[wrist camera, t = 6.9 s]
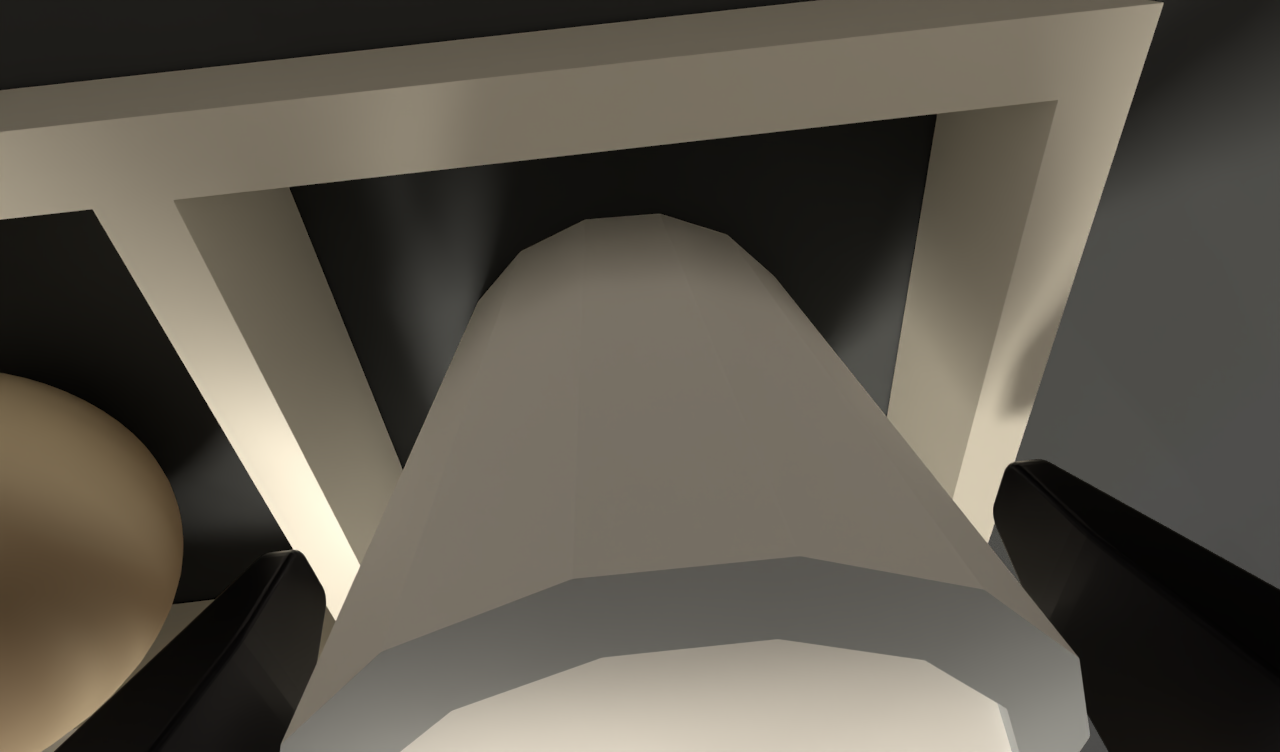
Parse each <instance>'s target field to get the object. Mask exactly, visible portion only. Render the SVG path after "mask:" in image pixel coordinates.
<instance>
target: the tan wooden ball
mask: <svg viewBox="0 0 1280 752" xmlns="http://www.w3.org/2000/svg"><path fill="white" fill-rule="evenodd" d="M182 560H183V531H182V521H181V516H180V511H179V507H178V504H177V501H176V498H175V495H174V492H173V490H172V487H171V485H170V482H169V480H168V479H167V477H166V475H165V474H164V472H163V470H162V469H161V467H160V465H159V464H158V462H157V461H156V459H155V458H154V456H153V455H152V454H151V453H150V451H149V450H148V449H147V447H146V446H145V445H144V444H143V443H142V442H141V441H140V440H139V439H138V438H137V437H136V436H135V435H134V434H133V433H132V432H131V431H129V430H128V429H127V428H126V427H125V426H123V425H122V424H121V423H120V422H118V421H117V420H116V419H114V418H113V417H111V416H110V415H108V414H107V413H105V412H104V411H102V410H101V409H99V408H97V407H95V406H94V405H92V404H90V403H88V402H87V401H85V400H83V399H80V398H78V397H76V396H74V395H72V394H70V393H68V392H65V391H63V390H60V389H58V388H55V387H52V386H50V385H47V384H44V383H41V382H37V381H34V380H31V379H27V378H24V377H19V376H14V375H10V374H5V373H0V752H41V751H43V750H44V749H46V748H48V747H49V746H51V745H52V744H54V743H55V742H56V741H58V740H59V739H60V738H62V737H63V736H64V735H66V734H67V733H68V732H70V731H71V730H72V729H74V728H75V727H76V726H78V725H79V724H80V723H82V722H83V721H84V720H86V719H87V718H88V717H90V716H91V715H92V714H93V713H94V712H95V711H96V710H97V709H98V708H99V707H100V706H101V705H103V704H104V703H105V702H106V701H107V700H108V699H109V698H110V697H111V696H112V695H113V694H114V693H115V692H116V691H117V689H118V688H119V687H120V686H121V685H122V684H123V683H124V681H125V680H126V679H127V678H128V677H129V676H130V674H131V673H132V672H133V671H134V670H135V669H136V667H137V666H138V665H139V664H140V663H141V661H142V660H143V658H144V657H145V655H146V654H147V652H148V650H149V649H150V647H151V646H152V644H153V643H154V641H155V640H156V638H157V636H158V634H159V632H160V630H161V628H162V626H163V624H164V622H165V620H166V618H167V616H168V614H169V612H170V609H171V607H172V604H173V600H174V597H175V594H176V590H177V587H178V583H179V579H180V575H181V569H182Z"/></svg>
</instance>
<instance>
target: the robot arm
mask: <svg viewBox="0 0 1280 752" xmlns="http://www.w3.org/2000/svg"><path fill="white" fill-rule="evenodd" d="M993 518H994V522H995V525H996V528H997V530H998V532H999V535H1000V537H1001V539H1002V542H1003V544H1004V546H1005V549H1006V551H1007V553H1008V556H1009V558H1010V560H1011V563H1012V565H1013V567H1014V570H1015V572H1016V574H1017V576H1018V579H1019V581H1020V583H1021V586H1022V587H1023V589H1024V590H1025V591H1026V592H1027V594H1028V595H1029V596H1030V597H1031V599H1032V600H1033V601H1034V602H1035V604H1036V605H1037V606H1038V607H1039V609H1040V610H1041V611H1042V612H1043V614H1044V615H1045V616H1046V617H1047V619H1048V620H1049V621H1050V622H1051V624H1052V625H1053V626H1054V627H1055V629H1056V630H1057V631H1058V632H1059V634H1060V635H1061V636H1062V637H1063V639H1064V640H1065V641H1066V642H1067V644H1068V645H1069V646H1070V647H1071V649H1072V650H1073V651H1074V652H1075V654H1076V655H1077V656H1078V657H1079V660H1080V667H1081V674H1082V682H1083V689H1084V696H1085V703H1086V711H1087V714H1088V716H1089V718H1090V720H1091V721H1092V723H1093V725H1094V727H1095V729H1096V730H1097V732H1098V734H1099V736H1100V737H1101V739H1102V741H1103V743H1104V745H1105V746H1106V748H1107V750H1108V752H1280V589H1278V588H1276V587H1274V586H1272V585H1271V584H1269V583H1267V582H1265V581H1263V580H1262V579H1260V578H1258V577H1256V576H1254V575H1253V574H1251V573H1249V572H1247V571H1245V570H1244V569H1242V568H1240V567H1238V566H1236V565H1234V564H1233V563H1231V562H1229V561H1227V560H1225V559H1224V558H1222V557H1220V556H1218V555H1216V554H1215V553H1213V552H1211V551H1209V550H1207V549H1206V548H1204V547H1202V546H1200V545H1198V544H1197V543H1195V542H1193V541H1191V540H1189V539H1188V538H1186V537H1184V536H1182V535H1180V534H1178V533H1177V532H1175V531H1173V530H1171V529H1169V528H1168V527H1166V526H1164V525H1162V524H1160V523H1159V522H1157V521H1155V520H1153V519H1151V518H1150V517H1148V516H1146V515H1144V514H1142V513H1141V512H1139V511H1137V510H1135V509H1133V508H1132V507H1130V506H1128V505H1126V504H1124V503H1122V502H1121V501H1119V500H1117V499H1115V498H1113V497H1112V496H1110V495H1108V494H1106V493H1104V492H1103V491H1101V490H1099V489H1097V488H1095V487H1094V486H1092V485H1090V484H1088V483H1086V482H1085V481H1083V480H1081V479H1079V478H1077V477H1076V476H1074V475H1072V474H1070V473H1068V472H1066V471H1065V470H1063V469H1061V468H1059V467H1057V466H1056V465H1054V464H1052V463H1050V462H1048V461H1046V460H1042V459H1034V460H1026V461H1017V462H1012V463H1010V464H1009V465H1008V466H1007V467H1006V468H1005V470H1004V473H1003V477H1002V480H1001V483H1000V486H999V489H998V492H997V495H996V499H995V502H994V505H993ZM325 610H326V595H325V591H324V589H323V586H322V585H321V583H320V581H319V579H318V578H317V576H316V574H315V572H314V571H313V569H312V567H311V566H310V564H309V562H308V560H307V559H306V557H305V555H304V554H303V553H302V552H300V551H298V550H286V551H277V552H270V553H266V554H264V555H262V556H261V557H260V558H258V559H257V560H256V561H255V562H254V563H253V564H252V565H251V566H250V567H249V568H248V569H247V570H245V571H244V572H243V573H242V574H241V575H240V576H239V577H238V578H237V579H236V580H235V581H234V582H233V583H232V584H231V585H230V586H229V587H227V588H226V589H225V590H224V591H223V592H222V593H221V594H220V595H219V596H218V597H217V598H216V599H215V600H214V601H213V602H212V603H211V604H209V605H208V606H207V607H206V608H205V609H204V610H203V611H202V612H201V613H200V614H199V615H198V616H197V617H196V618H195V619H194V620H193V621H191V622H190V623H189V624H188V625H187V626H186V627H185V628H184V629H183V630H182V631H181V632H180V633H179V634H178V635H177V636H176V637H175V638H173V639H172V640H171V641H170V642H169V643H168V644H167V645H166V646H165V647H164V648H163V649H162V650H161V651H160V652H159V653H158V654H156V655H155V656H154V657H153V658H152V659H151V660H150V661H149V662H148V663H147V664H146V665H145V666H144V667H143V668H142V669H141V670H140V671H138V672H137V673H136V674H135V675H134V676H133V677H132V678H131V679H130V680H129V681H128V682H127V683H126V684H125V685H124V686H123V687H122V688H120V689H119V690H118V691H117V692H116V693H115V694H114V695H113V696H112V697H111V698H110V699H109V700H108V701H107V702H106V703H105V704H104V705H102V706H101V707H100V708H99V709H98V710H97V711H96V712H95V713H94V714H93V715H92V716H91V717H90V718H89V719H88V720H87V721H86V722H84V723H83V724H82V725H81V726H80V727H79V728H78V729H77V730H76V731H75V732H74V733H73V734H72V735H71V736H70V737H69V738H68V739H66V740H65V741H64V742H63V743H62V744H61V745H60V746H59V747H58V748H57V749H56V750H55V751H54V752H280V747H281V743H282V740H283V738H284V736H285V734H286V731H287V729H288V727H289V725H290V722H291V720H292V718H293V716H294V713H295V711H296V709H297V707H298V705H299V702H300V700H301V698H302V696H303V693H304V691H305V689H306V687H307V684H308V682H309V680H310V678H311V675H312V673H313V671H314V669H315V666H316V664H317V661H318V655H319V649H320V642H321V636H322V629H323V623H324V617H325Z"/></svg>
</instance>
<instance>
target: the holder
mask: <svg viewBox="0 0 1280 752" xmlns="http://www.w3.org/2000/svg"><path fill="white" fill-rule="evenodd" d="M1163 4H1164V3H1163V2H1157V1H1151V0H816V1H807V2H798V3H789V4H780V5H771V6H762V7H752V8H743V9H734V10H725V11H716V12H707V13H698V14H689V15H680V16H671V17H662V18H653V19H643V20H634V21H625V22H616V23H607V24H598V25H589V26H580V27H571V28H562V29H553V30H544V31H534V32H525V33H516V34H507V35H498V36H489V37H480V38H471V39H462V40H453V41H444V42H435V43H425V44H416V45H407V46H398V47H389V48H380V49H371V50H362V51H353V52H344V53H335V54H326V55H316V56H307V57H298V58H289V59H280V60H271V61H262V62H253V63H244V64H235V65H226V66H216V67H207V68H198V69H189V70H180V71H171V72H162V73H153V74H144V75H135V76H126V77H117V78H107V79H98V80H89V81H80V82H71V83H62V84H53V85H44V86H35V87H26V88H17V89H8V90H0V220H1V219H10V218H19V217H28V216H37V215H46V214H54V213H63V212H72V211H81V210H90V209H93V211H94V213H95V214H96V216H97V218H98V219H99V221H100V223H101V225H102V226H103V228H104V230H105V231H106V233H107V235H108V236H109V238H110V240H111V242H112V243H113V245H114V247H115V248H116V250H117V252H118V253H119V255H120V257H121V258H122V260H123V262H124V264H125V265H126V267H127V269H128V270H129V272H130V274H131V275H132V277H133V279H134V280H135V282H136V284H137V286H138V287H139V289H140V291H141V292H142V294H143V296H144V297H145V299H146V301H147V302H148V304H149V306H150V308H151V309H152V311H153V313H154V314H155V316H156V318H157V319H158V321H159V323H160V325H161V326H162V328H163V330H164V331H165V333H166V335H167V336H168V338H169V340H170V341H171V343H172V345H173V347H174V348H175V350H176V352H177V353H178V355H179V357H180V358H181V360H182V362H183V363H184V365H185V367H186V369H187V370H188V372H189V374H190V375H191V377H192V379H193V380H194V382H195V384H196V386H197V387H198V389H199V391H200V392H201V394H202V396H203V397H204V399H205V401H206V402H207V404H208V406H209V408H210V409H211V411H212V413H213V414H214V416H215V418H216V419H217V421H218V423H219V424H220V426H221V428H222V430H223V431H224V433H225V435H226V436H227V438H228V440H229V441H230V443H231V445H232V447H233V448H234V450H235V452H236V453H237V455H238V457H239V458H240V460H241V462H242V463H243V465H244V467H245V469H246V470H247V472H248V474H249V475H250V477H251V479H252V480H253V482H254V484H255V485H256V487H257V489H258V491H259V492H260V494H261V496H262V497H263V499H264V501H265V502H266V504H267V506H268V507H269V509H270V511H271V513H272V514H273V516H274V518H275V519H276V521H277V523H278V524H279V526H280V528H281V530H282V531H283V533H284V535H285V536H286V538H287V540H288V541H289V543H290V545H291V546H292V548H293V550H298V551H300V552H302V553H303V554H304V555H305V557H306V559H307V560H308V562H309V564H310V566H311V567H312V569H313V571H314V572H315V574H316V576H317V578H318V579H319V581H320V583H321V585H322V586H323V589H324V591H325V595H326V610H325V617H324V623H323V629H322V636H321V642H320V649H319V655H318V660H319V657H320V655H321V653H322V651H323V648H324V646H325V644H326V642H327V639H328V637H329V635H330V633H331V630H332V628H333V626H334V624H335V621H336V619H337V617H338V615H339V612H340V610H341V608H342V606H343V603H344V601H345V599H346V597H347V595H348V592H349V590H350V588H351V586H352V583H353V581H354V579H355V577H356V574H357V572H358V570H359V568H360V565H361V563H362V561H363V559H364V556H365V554H366V552H367V550H368V547H369V545H370V543H371V541H372V538H373V536H374V534H375V532H376V529H377V527H378V525H379V523H380V520H381V518H382V516H383V514H384V511H385V509H386V507H387V505H388V502H389V500H390V498H391V496H392V493H393V491H394V489H395V487H396V485H397V482H398V480H399V478H400V476H401V473H402V471H403V469H402V466H401V464H400V462H399V459H398V457H397V454H396V452H395V449H394V447H393V444H392V442H391V439H390V437H389V434H388V432H387V429H386V427H385V424H384V422H383V419H382V417H381V414H380V412H379V409H378V407H377V404H376V402H375V399H374V397H373V394H372V392H371V390H370V387H369V385H368V382H367V380H366V377H365V375H364V372H363V370H362V367H361V365H360V362H359V360H358V357H357V355H356V352H355V350H354V347H353V345H352V342H351V340H350V337H349V335H348V332H347V330H346V327H345V325H344V323H343V320H342V318H341V315H340V313H339V310H338V308H337V305H336V303H335V300H334V298H333V295H332V293H331V290H330V288H329V285H328V283H327V280H326V278H325V275H324V273H323V270H322V268H321V265H320V263H319V260H318V258H317V255H316V253H315V251H314V248H313V246H312V243H311V241H310V238H309V236H308V233H307V231H306V228H305V226H304V223H303V221H302V218H301V216H300V213H299V211H298V208H297V206H296V203H295V201H294V198H293V196H292V193H291V191H290V188H289V187H293V186H302V185H311V184H320V183H329V182H337V181H346V180H355V179H364V178H373V177H382V176H391V175H399V174H408V173H417V172H426V171H435V170H444V169H452V168H461V167H470V166H479V165H488V164H497V163H506V162H514V161H523V160H532V159H541V158H550V157H559V156H567V155H576V154H585V153H594V152H603V151H612V150H621V149H629V148H638V147H647V146H656V145H665V144H674V143H682V142H691V141H700V140H709V139H718V138H727V137H736V136H744V135H753V134H762V133H771V132H780V131H789V130H797V129H806V128H815V127H824V126H833V125H842V124H851V123H859V122H868V121H877V120H886V119H895V118H904V117H912V116H921V115H930V114H937V118H936V124H935V130H934V136H933V142H932V148H931V154H930V160H929V166H928V172H927V179H926V185H925V191H924V197H923V203H922V209H921V215H920V221H919V227H918V233H917V239H916V245H915V251H914V257H913V263H912V269H911V275H910V281H909V287H908V293H907V299H906V305H905V311H904V317H903V323H902V329H901V335H900V341H899V347H898V353H897V359H896V365H895V371H894V377H893V384H892V390H891V396H890V402H889V408H888V414H887V418H888V419H889V421H890V422H891V423H892V424H893V426H894V427H895V428H896V429H897V431H898V432H899V433H900V434H901V436H902V437H903V438H904V439H905V441H906V442H907V443H908V444H909V446H910V447H911V448H912V449H913V451H914V452H915V453H916V454H917V456H918V457H919V458H920V459H921V461H922V462H923V463H924V464H925V466H926V467H927V468H928V469H929V471H930V472H931V473H932V474H933V476H934V477H935V478H936V479H937V481H938V482H939V483H940V484H941V486H942V487H943V488H944V489H945V491H946V492H947V493H948V494H949V496H950V497H951V498H952V500H953V501H954V502H955V503H956V505H957V506H958V507H959V508H960V510H961V511H962V512H963V513H964V515H965V516H966V517H967V518H968V520H969V521H970V522H971V523H972V525H973V526H974V527H975V528H976V530H977V531H978V532H979V533H980V535H981V536H982V537H983V538H984V540H985V541H986V542H987V543H988V541H989V538H990V535H991V532H992V529H993V526H994V523H995V522H994V518H993V505H994V502H995V499H996V495H997V492H998V489H999V486H1000V483H1001V480H1002V477H1003V473H1004V470H1005V468H1006V467H1007V466H1008V465H1009V464H1010V463H1012V462H1015V459H1016V456H1017V452H1018V449H1019V446H1020V443H1021V440H1022V437H1023V434H1024V431H1025V428H1026V425H1027V422H1028V419H1029V416H1030V413H1031V409H1032V406H1033V403H1034V400H1035V397H1036V394H1037V391H1038V388H1039V385H1040V382H1041V379H1042V376H1043V373H1044V370H1045V366H1046V363H1047V360H1048V357H1049V354H1050V351H1051V348H1052V345H1053V342H1054V339H1055V336H1056V333H1057V330H1058V327H1059V324H1060V320H1061V317H1062V314H1063V311H1064V308H1065V305H1066V302H1067V299H1068V296H1069V293H1070V290H1071V287H1072V284H1073V281H1074V277H1075V274H1076V271H1077V268H1078V265H1079V262H1080V259H1081V256H1082V253H1083V250H1084V247H1085V244H1086V241H1087V238H1088V234H1089V231H1090V228H1091V225H1092V222H1093V219H1094V216H1095V213H1096V210H1097V207H1098V204H1099V201H1100V198H1101V195H1102V192H1103V188H1104V185H1105V182H1106V179H1107V176H1108V173H1109V170H1110V167H1111V164H1112V161H1113V158H1114V155H1115V152H1116V149H1117V145H1118V142H1119V139H1120V136H1121V133H1122V130H1123V127H1124V124H1125V121H1126V118H1127V115H1128V112H1129V109H1130V106H1131V103H1132V99H1133V96H1134V93H1135V90H1136V87H1137V84H1138V81H1139V78H1140V75H1141V72H1142V69H1143V66H1144V63H1145V60H1146V56H1147V53H1148V50H1149V47H1150V44H1151V41H1152V38H1153V35H1154V32H1155V29H1156V26H1157V23H1158V20H1159V17H1160V13H1161V10H1162V7H1163ZM214 600H215V599H213V600H205V601H197V602H189V603H180V604H172V607H171V609H170V612H169V614H168V616H167V618H166V620H165V622H164V624H163V626H162V628H161V630H160V632H159V634H158V636H157V638H156V640H155V641H154V643H153V644H152V646H151V647H150V649H149V650H148V652H147V654H146V655H145V657H144V658H143V660H142V661H141V663H140V664H139V665H138V666H137V667H136V669H135V670H134V671H133V672H132V673H131V674H130V676H129V677H128V678H127V679H126V680H125V681H124V683H123V684H122V685H121V686H120V687H119V688H118V689H117V691H118V690H119V689H120V688H122V687H123V686H124V685H125V684H126V683H127V682H128V681H129V680H130V679H131V678H132V677H133V676H134V675H135V674H136V673H137V672H138V671H140V670H141V669H142V668H143V667H144V666H145V665H146V664H147V663H148V662H149V661H150V660H151V659H152V658H153V657H154V656H155V655H156V654H158V653H159V652H160V651H161V650H162V649H163V648H164V647H165V646H166V645H167V644H168V643H169V642H170V641H171V640H172V639H173V638H175V637H176V636H177V635H178V634H179V633H180V632H181V631H182V630H183V629H184V628H185V627H186V626H187V625H188V624H189V623H190V622H191V621H193V620H194V619H195V618H196V617H197V616H198V615H199V614H200V613H201V612H202V611H203V610H204V609H205V608H206V607H207V606H208V605H209V604H211V603H212V602H213V601H214ZM317 662H318V661H317ZM117 691H116V692H117ZM116 692H115V693H116ZM115 693H114V694H115ZM114 694H113V695H114ZM113 695H112V696H113ZM112 696H111V697H112ZM111 697H110V698H111ZM110 698H109V699H110ZM109 699H108V700H109ZM108 700H107V701H108ZM107 701H106V702H107ZM106 702H105V703H106ZM105 703H104V704H105ZM104 704H103V705H104ZM101 706H102V705H101ZM101 706H100V707H101ZM100 707H99V708H100ZM99 708H98V709H99ZM98 709H97V710H98ZM97 710H96V711H97ZM96 711H95V712H96ZM95 712H94V713H95ZM94 713H93V714H94ZM93 714H92V715H93ZM92 715H91V716H92ZM91 716H90V717H91ZM90 717H88V718H87V719H86V720H84V721H83V722H82V723H80V724H79V725H78V726H76V727H75V728H74V729H72V730H71V731H70V732H68V733H67V734H66V735H64V736H63V737H62V738H60V739H59V740H58V741H56V742H55V743H54V744H52V745H51V746H49V747H48V748H46V749H44V750H43V751H41V752H54V751H55V750H56V749H57V748H58V747H59V746H60V745H61V744H62V743H63V742H64V741H65V740H66V739H68V738H69V737H70V736H71V735H72V734H73V733H74V732H75V731H76V730H77V729H78V728H79V727H80V726H81V725H82V724H83V723H84V722H86V721H87V720H88V719H89V718H90Z"/></svg>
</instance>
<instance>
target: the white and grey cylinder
mask: <svg viewBox="0 0 1280 752" xmlns="http://www.w3.org/2000/svg"><path fill="white" fill-rule="evenodd" d="M1089 737H1090V732H1089V725H1088V718H1087V711H1086V703H1085V696H1084V689H1083V682H1082V674H1081V667H1080V660H1079V657H1078V656H1077V655H1076V654H1075V652H1074V651H1073V650H1072V649H1071V647H1070V646H1069V645H1068V644H1067V642H1066V641H1065V640H1064V639H1063V637H1062V636H1061V635H1060V634H1059V632H1058V631H1057V630H1056V629H1055V627H1054V626H1053V625H1052V624H1051V622H1050V621H1049V620H1048V619H1047V617H1046V616H1045V615H1044V614H1043V612H1042V611H1041V610H1040V609H1039V607H1038V606H1037V605H1036V604H1035V602H1034V601H1033V600H1032V599H1031V597H1030V596H1029V595H1028V594H1027V592H1026V591H1025V590H1024V589H1023V587H1022V586H1021V585H1020V583H1019V582H1018V581H1017V580H1016V578H1015V577H1014V576H1013V575H1012V573H1011V572H1010V571H1009V570H1008V568H1007V567H1006V566H1005V565H1004V563H1003V562H1002V561H1001V560H1000V558H999V557H998V556H997V555H996V553H995V552H994V551H993V550H992V548H991V547H990V546H989V545H988V543H987V542H986V541H985V540H984V538H983V537H982V536H981V535H980V533H979V532H978V531H977V530H976V528H975V527H974V526H973V525H972V523H971V522H970V521H969V520H968V518H967V517H966V516H965V515H964V513H963V512H962V511H961V510H960V508H959V507H958V506H957V505H956V503H955V502H954V501H953V500H952V498H951V497H950V496H949V494H948V493H947V492H946V491H945V489H944V488H943V487H942V486H941V484H940V483H939V482H938V481H937V479H936V478H935V477H934V476H933V474H932V473H931V472H930V471H929V469H928V468H927V467H926V466H925V464H924V463H923V462H922V461H921V459H920V458H919V457H918V456H917V454H916V453H915V452H914V451H913V449H912V448H911V447H910V446H909V444H908V443H907V442H906V441H905V439H904V438H903V437H902V436H901V434H900V433H899V432H898V431H897V429H896V428H895V427H894V426H893V424H892V423H891V422H890V421H889V419H888V418H887V417H886V416H885V414H884V413H883V412H882V411H881V409H880V408H879V407H878V405H877V404H876V403H875V402H874V400H873V399H872V398H871V397H870V395H869V394H868V393H867V392H866V390H865V389H864V388H863V387H862V385H861V384H860V383H859V382H858V380H857V379H856V378H855V377H854V375H853V374H852V373H851V372H850V370H849V369H848V368H847V367H846V365H845V364H844V363H843V362H842V360H841V359H840V358H839V357H838V355H837V354H836V353H835V352H834V350H833V349H832V348H831V347H830V345H829V344H828V343H827V342H826V340H825V339H824V338H823V337H822V335H821V334H820V333H819V332H818V330H817V329H816V328H815V327H814V325H813V324H812V323H811V322H810V320H809V319H808V318H807V316H806V315H805V314H804V313H803V311H802V310H801V309H800V308H799V306H798V305H797V304H796V303H795V301H794V300H793V299H792V298H791V296H790V295H789V294H788V293H787V291H786V290H785V289H784V288H783V286H782V285H781V284H780V283H779V281H778V280H777V279H776V278H775V276H773V275H772V274H771V273H770V272H769V271H768V270H767V269H766V268H764V267H763V266H762V265H761V264H760V263H759V262H758V261H757V260H755V259H754V258H753V257H752V256H751V255H750V254H749V253H747V252H746V251H745V250H744V249H743V248H742V247H741V246H740V245H738V244H737V243H736V242H735V241H734V240H733V239H732V238H731V237H729V236H728V235H727V234H724V233H721V232H717V231H714V230H711V229H708V228H705V227H701V226H698V225H695V224H692V223H689V222H685V221H682V220H679V219H676V218H673V217H669V216H666V215H663V214H660V213H659V214H647V215H634V216H622V217H609V218H597V219H585V220H583V221H581V222H579V223H577V224H575V225H573V226H571V227H569V228H567V229H565V230H563V231H561V232H559V233H557V234H555V235H553V236H551V237H549V238H547V239H545V240H543V241H540V242H538V243H536V244H534V245H532V246H530V247H528V248H526V249H524V250H522V251H520V252H519V254H518V255H517V256H516V257H515V258H514V259H513V261H512V262H511V263H510V264H509V265H508V267H507V268H506V269H505V270H504V271H503V273H502V274H501V275H500V276H499V277H498V278H497V280H496V281H495V282H494V283H493V284H492V286H491V287H490V288H489V289H488V290H487V291H486V293H485V294H484V295H483V296H482V297H481V299H480V300H479V301H478V303H477V305H476V307H475V309H474V312H473V314H472V316H471V318H470V321H469V323H468V325H467V327H466V330H465V332H464V334H463V336H462V339H461V341H460V343H459V345H458V348H457V350H456V352H455V354H454V357H453V359H452V361H451V363H450V366H449V368H448V370H447V372H446V375H445V377H444V379H443V381H442V384H441V386H440V388H439V390H438V392H437V395H436V397H435V399H434V401H433V404H432V406H431V408H430V410H429V413H428V415H427V417H426V419H425V422H424V424H423V426H422V428H421V431H420V433H419V435H418V437H417V440H416V442H415V444H414V446H413V449H412V451H411V453H410V455H409V458H408V460H407V462H406V464H405V467H404V469H403V471H402V473H401V476H400V478H399V480H398V482H397V485H396V487H395V489H394V491H393V493H392V496H391V498H390V500H389V502H388V505H387V507H386V509H385V511H384V514H383V516H382V518H381V520H380V523H379V525H378V527H377V529H376V532H375V534H374V536H373V538H372V541H371V543H370V545H369V547H368V550H367V552H366V554H365V556H364V559H363V561H362V563H361V565H360V568H359V570H358V572H357V574H356V577H355V579H354V581H353V583H352V586H351V588H350V590H349V592H348V595H347V597H346V599H345V601H344V603H343V606H342V608H341V610H340V612H339V615H338V617H337V619H336V621H335V624H334V626H333V628H332V630H331V633H330V635H329V637H328V639H327V642H326V644H325V646H324V648H323V651H322V653H321V655H320V657H319V660H318V662H317V664H316V666H315V669H314V671H313V673H312V675H311V678H310V680H309V682H308V684H307V687H306V689H305V691H304V693H303V696H302V698H301V700H300V702H299V705H298V707H297V709H296V711H295V713H294V716H293V718H292V720H291V722H290V725H289V727H288V729H287V731H286V734H285V736H284V738H283V740H282V743H281V747H280V752H1080V750H1081V749H1082V747H1083V746H1084V744H1085V743H1086V741H1087V740H1088V738H1089Z"/></svg>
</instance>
